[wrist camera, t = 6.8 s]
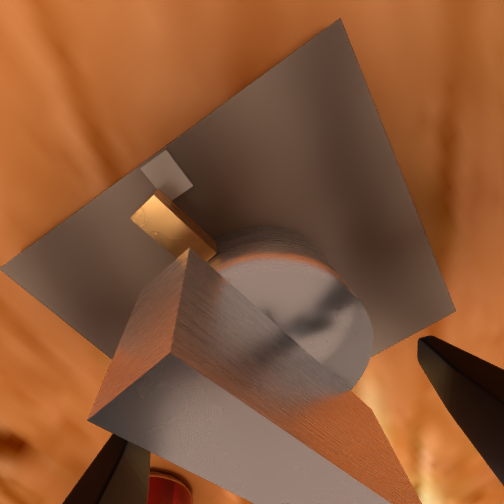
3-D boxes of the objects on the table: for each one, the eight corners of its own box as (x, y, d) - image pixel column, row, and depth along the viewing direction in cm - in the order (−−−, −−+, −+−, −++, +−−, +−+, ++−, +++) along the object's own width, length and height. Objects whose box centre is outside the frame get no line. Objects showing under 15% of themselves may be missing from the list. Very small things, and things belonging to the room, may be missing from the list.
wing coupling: (375, 313, 15) (520, 494, 8) (270, 387, 17) (313, 599, 9) (216, 130, 11) (220, 165, 3) (91, 253, 12) (-90, 460, 5)
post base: (325, 29, 11) (342, 15, 10) (437, 295, 17) (458, 313, 16) (20, 253, 14) (-5, 271, 12) (214, 419, 20) (214, 444, 18)
